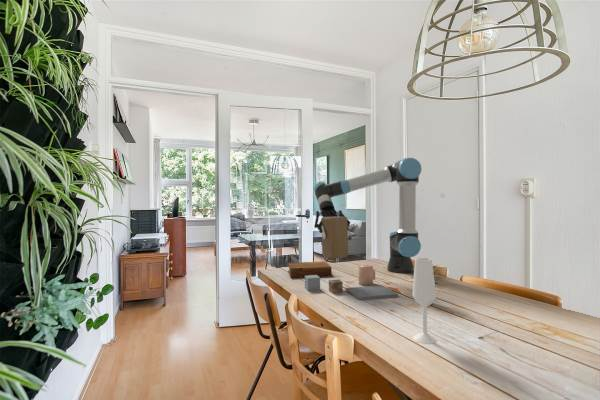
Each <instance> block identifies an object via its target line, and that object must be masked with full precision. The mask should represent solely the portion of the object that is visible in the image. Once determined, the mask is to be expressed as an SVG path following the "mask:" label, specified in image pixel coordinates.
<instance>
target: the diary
mask: <svg viewBox="0 0 600 400" xmlns="http://www.w3.org/2000/svg"><path fill="white" fill-rule="evenodd" d="M287 266H288V270H287V273H288V275H289V277H290V279H297V278H305V276H308V275H317V276H319V277H320V278H321V277H322V278H323V277H332V274H333V272H332V266H331V265H330V264H329V263H328V262H327V261H325V260H323V261H302V262H301V261H300V262H298V261H297V262H287Z"/></svg>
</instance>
